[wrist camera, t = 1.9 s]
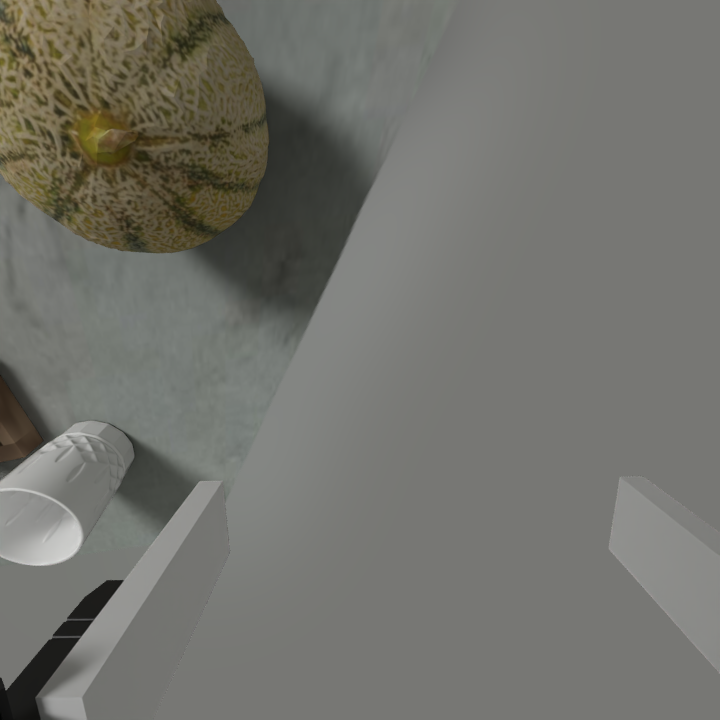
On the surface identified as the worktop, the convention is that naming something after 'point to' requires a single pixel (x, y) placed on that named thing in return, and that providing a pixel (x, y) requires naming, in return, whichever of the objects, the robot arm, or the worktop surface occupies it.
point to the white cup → (61, 493)
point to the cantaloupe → (131, 118)
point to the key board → (15, 428)
